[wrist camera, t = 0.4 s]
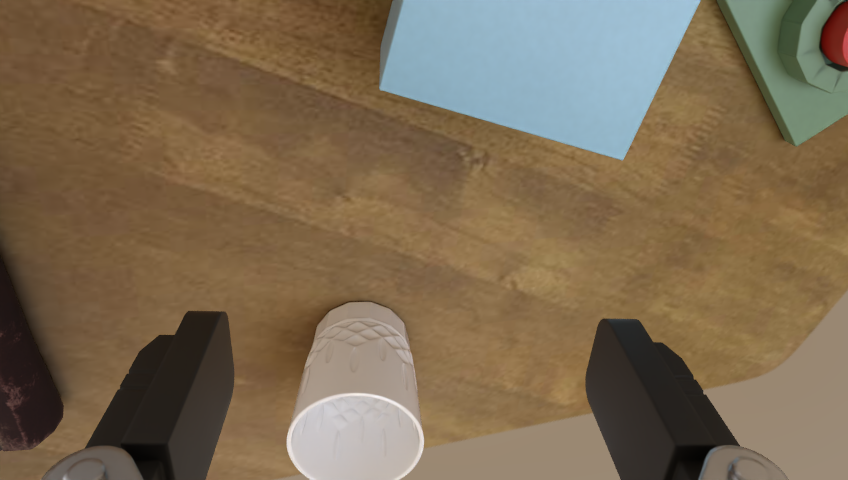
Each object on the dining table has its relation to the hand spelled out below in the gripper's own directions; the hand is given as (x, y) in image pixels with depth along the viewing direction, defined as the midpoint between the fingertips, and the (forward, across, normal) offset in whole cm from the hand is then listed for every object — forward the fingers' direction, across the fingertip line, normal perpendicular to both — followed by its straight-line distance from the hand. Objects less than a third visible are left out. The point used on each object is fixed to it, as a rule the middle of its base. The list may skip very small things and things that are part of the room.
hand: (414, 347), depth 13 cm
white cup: (+25, +2, +19) cm, 31 cm away
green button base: (+25, -24, -4) cm, 35 cm away
